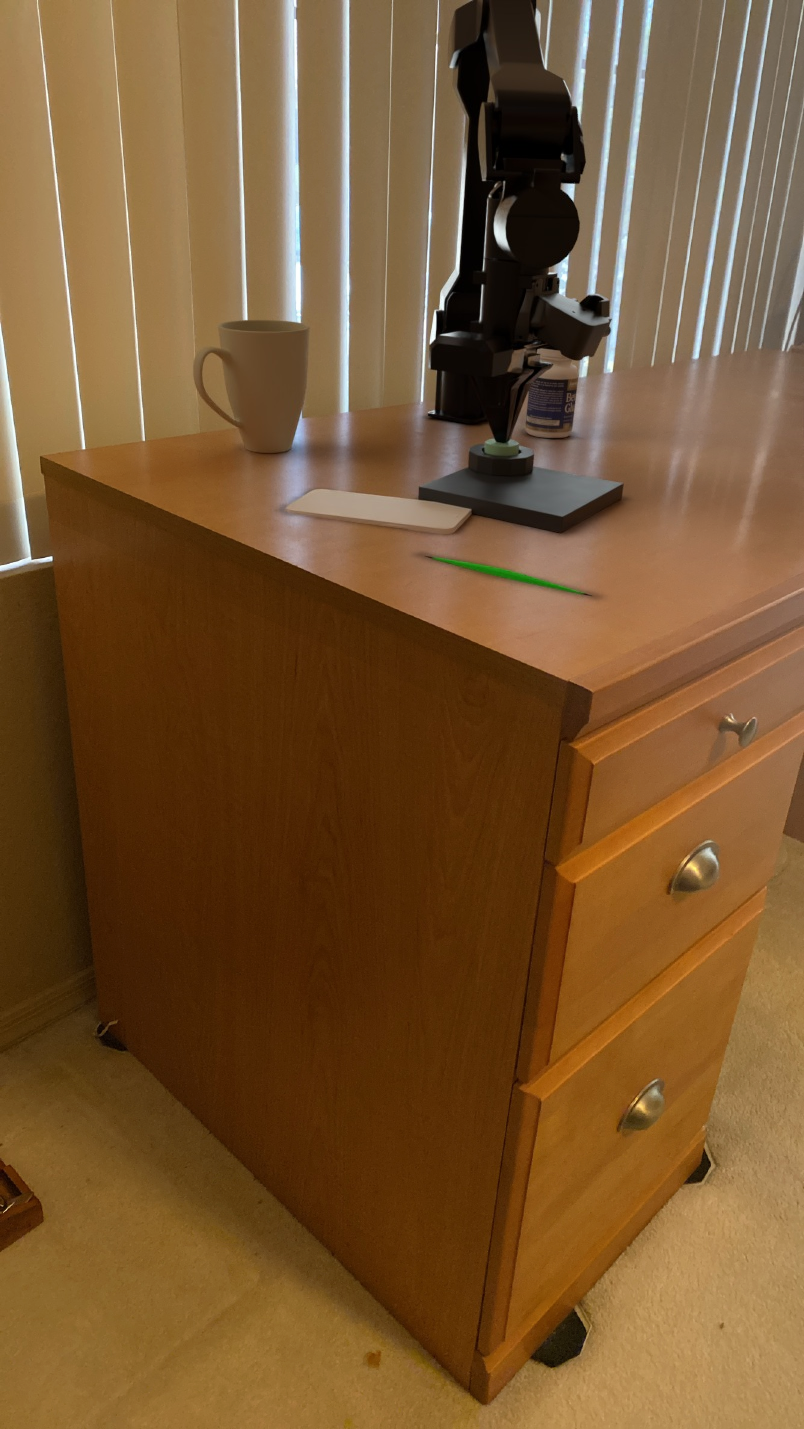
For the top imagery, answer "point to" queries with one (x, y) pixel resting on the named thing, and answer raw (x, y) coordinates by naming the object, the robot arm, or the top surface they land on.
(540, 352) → the pill bottle
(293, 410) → the mug
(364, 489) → the top surface
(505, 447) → the button
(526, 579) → the green tapered stick
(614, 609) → the top surface
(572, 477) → the scale
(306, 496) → the smartphone
